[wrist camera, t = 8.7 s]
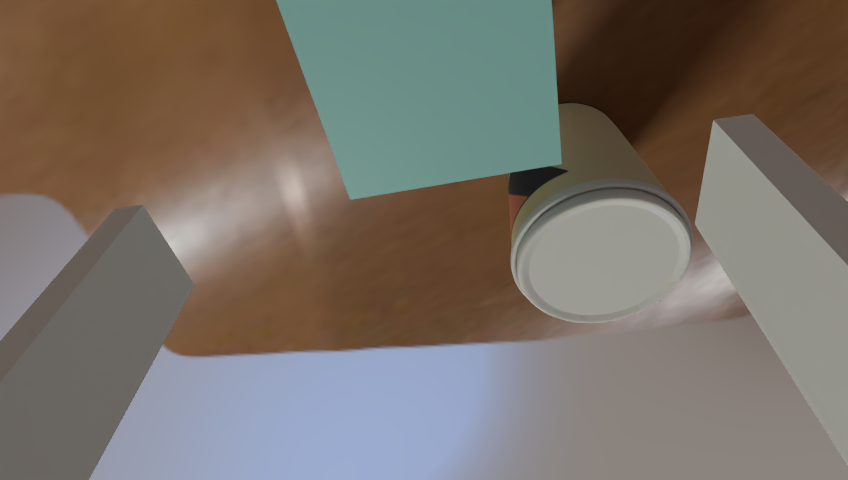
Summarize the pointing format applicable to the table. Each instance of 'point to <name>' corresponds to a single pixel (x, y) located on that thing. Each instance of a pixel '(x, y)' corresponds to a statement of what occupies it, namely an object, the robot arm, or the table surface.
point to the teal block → (429, 87)
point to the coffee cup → (595, 226)
